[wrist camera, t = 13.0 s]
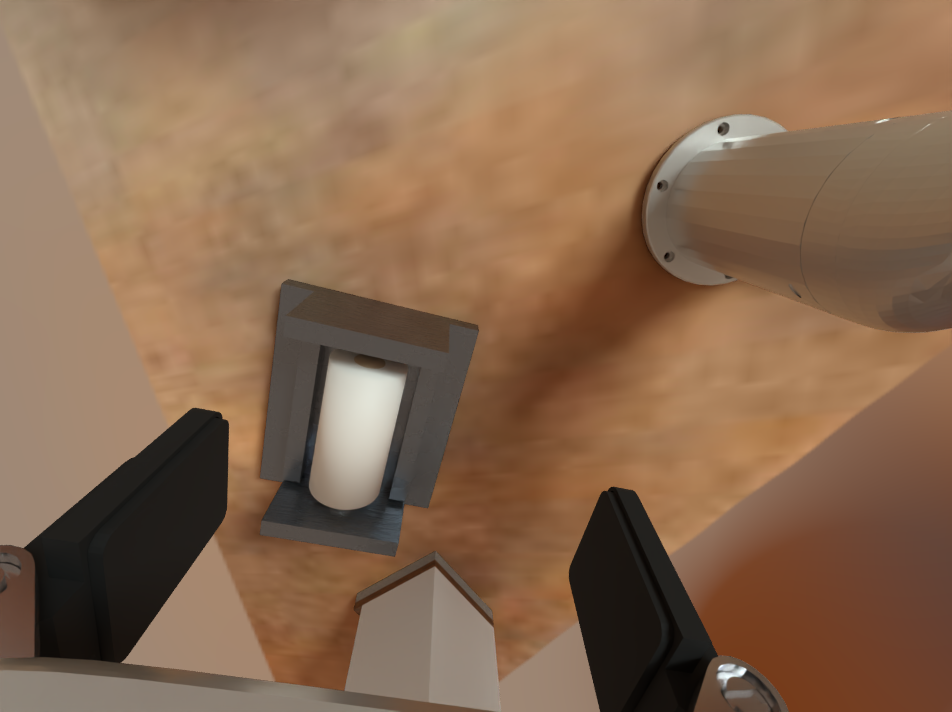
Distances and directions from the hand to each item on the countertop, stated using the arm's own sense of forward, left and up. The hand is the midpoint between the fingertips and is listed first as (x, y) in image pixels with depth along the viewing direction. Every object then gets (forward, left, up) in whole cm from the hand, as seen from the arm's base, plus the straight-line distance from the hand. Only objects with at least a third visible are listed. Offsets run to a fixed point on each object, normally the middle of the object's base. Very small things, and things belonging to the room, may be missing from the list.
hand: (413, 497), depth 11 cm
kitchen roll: (+4, +13, -23) cm, 27 cm away
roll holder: (+4, +13, -28) cm, 31 cm away
